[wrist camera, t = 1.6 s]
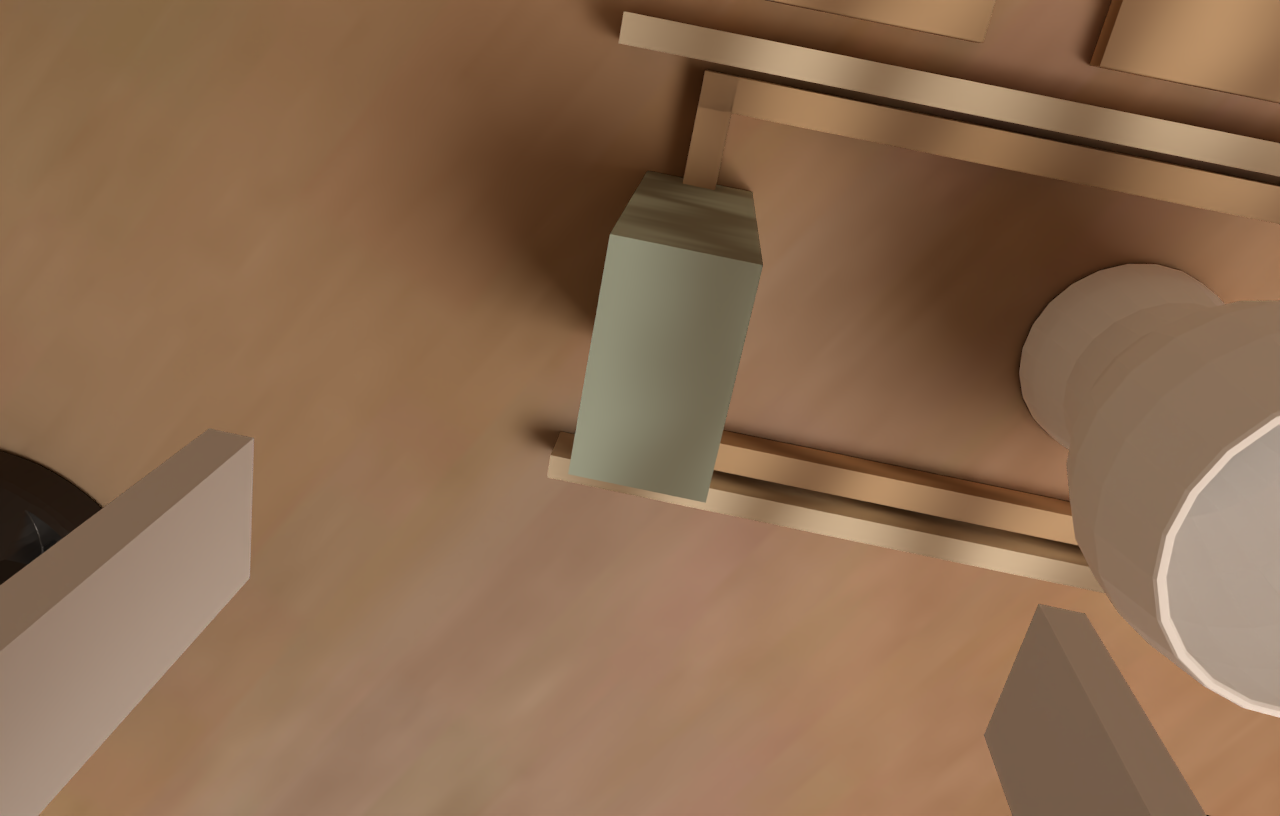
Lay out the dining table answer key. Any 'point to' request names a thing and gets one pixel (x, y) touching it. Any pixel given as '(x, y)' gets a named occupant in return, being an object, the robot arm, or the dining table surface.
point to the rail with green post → (726, 288)
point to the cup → (1172, 463)
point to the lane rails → (961, 8)
